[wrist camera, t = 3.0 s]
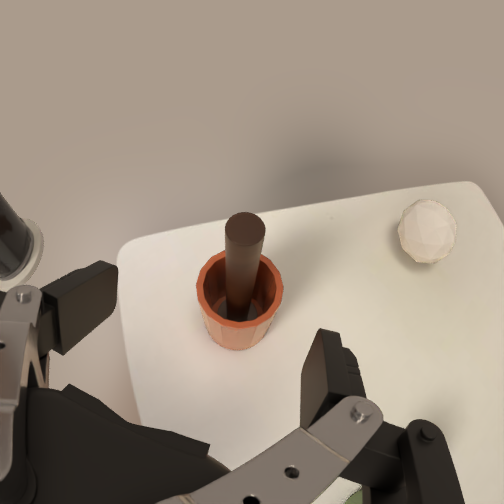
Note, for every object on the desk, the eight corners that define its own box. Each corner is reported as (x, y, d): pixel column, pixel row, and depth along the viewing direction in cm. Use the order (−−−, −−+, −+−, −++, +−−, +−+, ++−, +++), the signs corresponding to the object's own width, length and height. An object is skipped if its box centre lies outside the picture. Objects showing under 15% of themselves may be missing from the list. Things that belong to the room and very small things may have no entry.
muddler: (220, 339, 28) (211, 268, 14) (214, 302, 30) (203, 202, 15) (259, 333, 28) (291, 257, 14) (252, 297, 30) (274, 194, 16)
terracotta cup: (210, 354, 28) (202, 334, 20) (201, 295, 30) (192, 253, 23) (273, 344, 28) (291, 320, 21) (261, 286, 31) (272, 243, 23)
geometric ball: (403, 269, 37) (412, 273, 29) (389, 212, 38) (394, 202, 30) (452, 255, 34) (471, 255, 27) (437, 198, 35) (452, 186, 27)
